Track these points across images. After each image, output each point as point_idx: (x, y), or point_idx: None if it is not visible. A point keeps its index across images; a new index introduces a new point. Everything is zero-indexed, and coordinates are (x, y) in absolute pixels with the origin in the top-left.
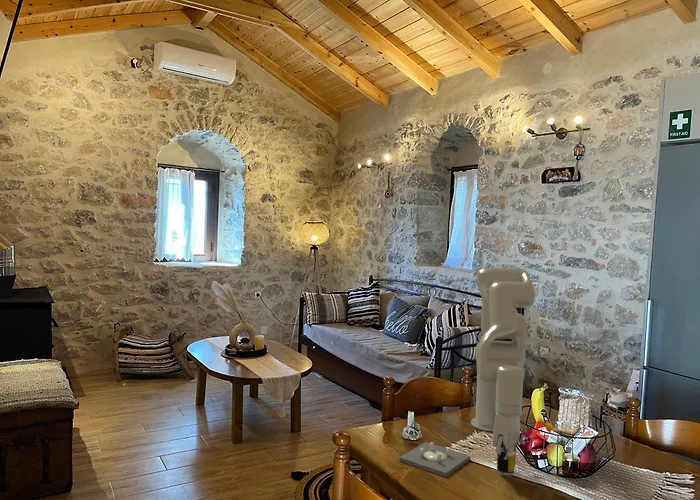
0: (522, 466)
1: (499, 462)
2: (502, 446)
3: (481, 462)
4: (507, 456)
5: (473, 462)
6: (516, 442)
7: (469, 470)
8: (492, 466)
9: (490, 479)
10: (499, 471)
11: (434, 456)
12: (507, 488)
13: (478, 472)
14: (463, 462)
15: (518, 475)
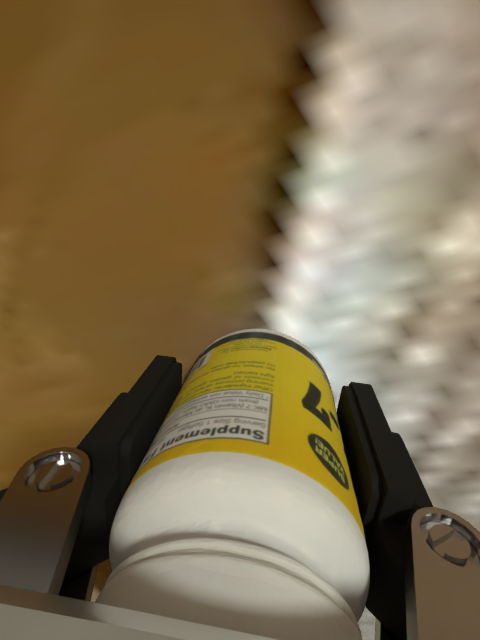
0: (462, 475)
1: (90, 435)
2: None
3: (353, 107)
4: (91, 587)
5: (296, 10)
6: None
7: (61, 71)
8: (313, 255)
9: (46, 317)
10: (199, 356)
11: None
12: (16, 445)
13: (88, 179)
14: None
15: None
